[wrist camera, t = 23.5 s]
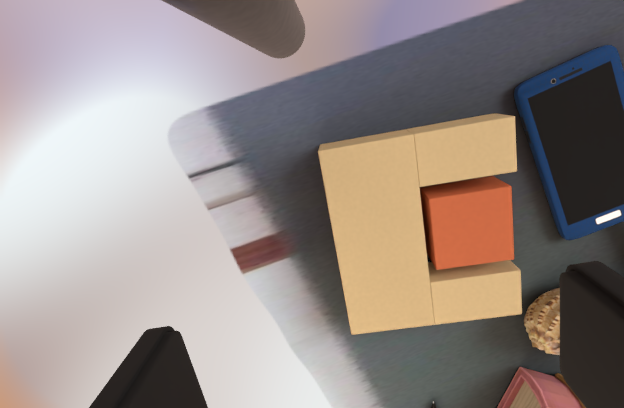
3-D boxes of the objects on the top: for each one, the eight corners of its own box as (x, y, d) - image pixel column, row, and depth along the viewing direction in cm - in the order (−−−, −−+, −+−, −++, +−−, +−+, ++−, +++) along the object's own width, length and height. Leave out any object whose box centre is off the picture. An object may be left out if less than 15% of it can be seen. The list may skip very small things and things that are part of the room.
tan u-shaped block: (319, 144, 31) (317, 150, 28) (494, 113, 29) (515, 115, 26) (349, 312, 35) (351, 335, 32) (504, 292, 34) (522, 314, 30)
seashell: (560, 239, 35) (499, 323, 33) (629, 244, 29) (559, 347, 27) (608, 293, 36) (552, 377, 34) (683, 309, 30) (620, 411, 29)
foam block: (419, 187, 32) (428, 199, 28) (492, 175, 31) (511, 186, 28) (426, 252, 33) (436, 270, 30) (496, 242, 33) (514, 259, 29)
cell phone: (560, 240, 32) (565, 244, 31) (509, 87, 29) (514, 87, 28) (651, 206, 31) (659, 209, 30) (609, 41, 27) (616, 39, 27)
